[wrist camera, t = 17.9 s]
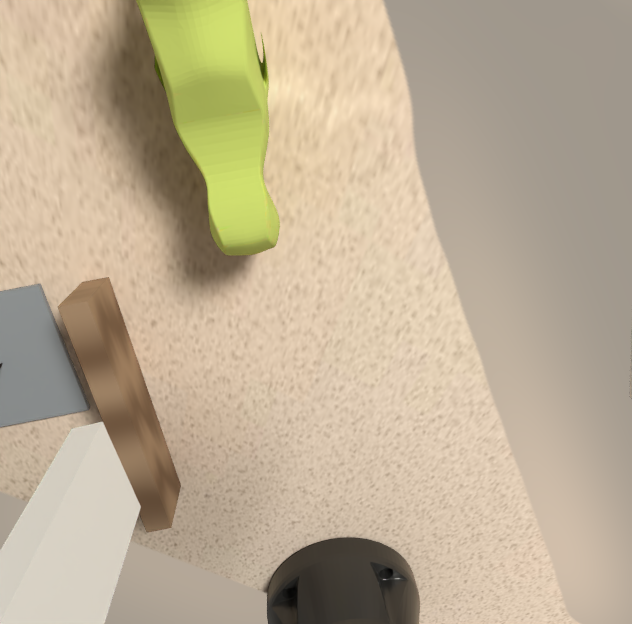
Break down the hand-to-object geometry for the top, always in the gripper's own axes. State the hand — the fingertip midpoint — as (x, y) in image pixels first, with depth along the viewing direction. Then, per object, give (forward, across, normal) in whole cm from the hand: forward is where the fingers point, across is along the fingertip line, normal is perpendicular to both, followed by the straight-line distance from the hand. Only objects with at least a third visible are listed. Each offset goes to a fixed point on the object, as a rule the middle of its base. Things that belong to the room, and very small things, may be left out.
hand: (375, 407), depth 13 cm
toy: (+28, +4, -9) cm, 30 cm away
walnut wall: (+28, +17, +12) cm, 35 cm away
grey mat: (+28, +26, +7) cm, 38 cm away
